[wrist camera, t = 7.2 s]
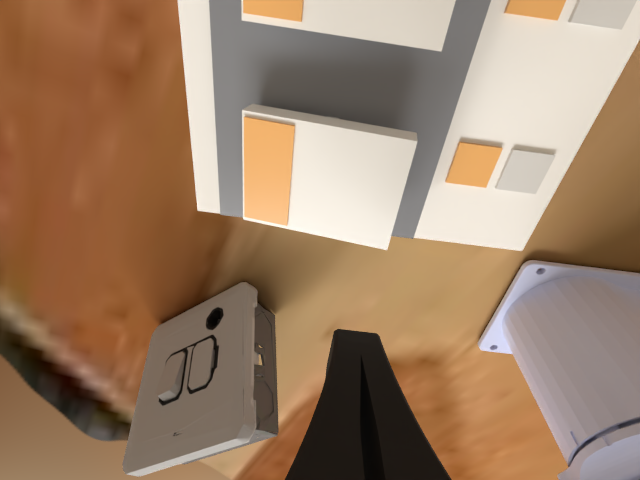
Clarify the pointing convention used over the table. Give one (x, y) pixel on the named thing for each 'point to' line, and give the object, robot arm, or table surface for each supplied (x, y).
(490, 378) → the table surface
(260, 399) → the electrical switch
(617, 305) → the robot arm
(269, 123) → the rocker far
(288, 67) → the switch unit
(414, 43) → the rocker near
